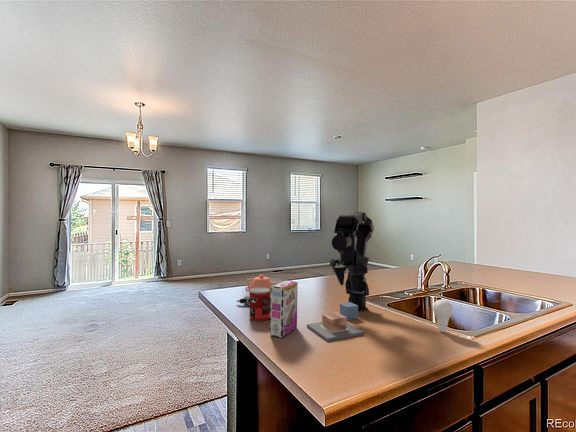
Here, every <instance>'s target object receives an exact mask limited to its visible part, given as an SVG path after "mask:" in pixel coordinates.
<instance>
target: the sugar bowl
mask: <svg viewBox="0 0 576 432" xmlns="http://www.w3.org/2000/svg"><path fill="white" fill-rule="evenodd" d="M249 281H251V283H250V284H249ZM246 285H247V286H246V288H245V292H249V293H250V289H252V288H268V289H270V295H271V286H273V282H272V281H271V279H270V278H269V277H267V276H265V275H264V274H259V275H258V276H257V277H254V278H248V279H247V280H246Z"/></svg>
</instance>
